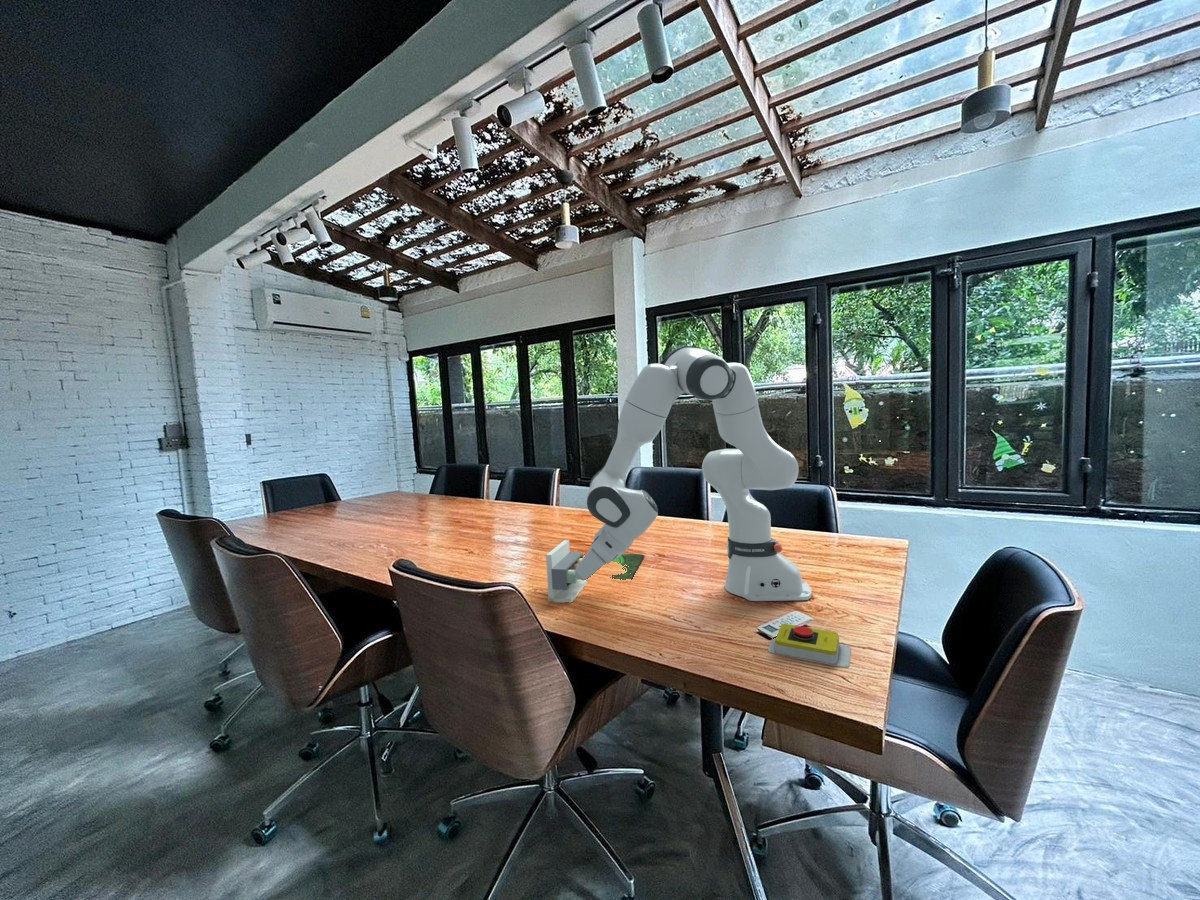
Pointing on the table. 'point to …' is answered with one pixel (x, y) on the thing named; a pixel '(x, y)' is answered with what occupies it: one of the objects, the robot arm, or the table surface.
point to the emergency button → (810, 645)
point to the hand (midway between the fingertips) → (577, 576)
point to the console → (562, 573)
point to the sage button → (571, 576)
